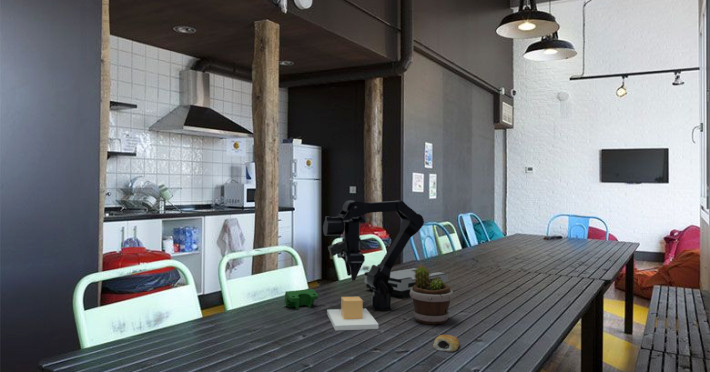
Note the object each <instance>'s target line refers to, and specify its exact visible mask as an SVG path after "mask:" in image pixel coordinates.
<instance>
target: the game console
mask: <svg viewBox="0 0 710 372" xmlns="http://www.w3.org/2000/svg"><path fill="white" fill-rule="evenodd" d="M417 269H418V267H407V268H401V269H394V270H391V274H390V279H389V281H388V283H389V284H390V285H391V286H392V287H393V288H394V289H393V292H392V294H391V297H396V298H400V299H406V298H411V297H410V290H411V289H412V288H413V286H414V285H415V284H416V281H415V279H414V278H415V274H416V273H414V271H415V270H417ZM368 272H369V271H366V272H364V284H366V285H365V286H366V289H369V291H370V290H372V288H371V286H370V285H369V284H368V282H367V276H368V274H367V273H368ZM415 272H416V271H415ZM429 273H430V274H431V275H429V276H430V277H429V278H430V280H429V281H428V282H429V283H431V281H432V280H434V279H435V278H436V279H437V277H438V279H439V278H440V279H441V280H442V281H443V283H445V282H446V283H447V282H449V274H448V273H445V272H439V271H438V272H429ZM413 277H414V278H413ZM434 277H435V278H434ZM373 291H374V290H372V291H371V292H373Z"/></svg>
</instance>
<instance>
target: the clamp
mask: <svg viewBox="0 0 710 372" xmlns="http://www.w3.org/2000/svg"><path fill="white" fill-rule="evenodd" d="M284 293H285V294H284V301H283V302H284V305H285V306H286V307H287V308H294V306H295V309H296V310H299V307H303V305H305V306H307V307H308V308H309V309H310V308H312V305H313V304H314V303H315V300H318V298H319V294H318V292H316V291H315V290H314V288H311V289H310V288H309V289H301V290H300V289H298V290H297V289H296V290H289V291H288V290H287V291H285V292H284Z"/></svg>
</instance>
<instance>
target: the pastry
mask: <svg viewBox="0 0 710 372" xmlns="http://www.w3.org/2000/svg"><path fill="white" fill-rule="evenodd" d="M433 342H434V343H433V344H432V347H433V349H434V350H436V351H442V352H449V353H450V352H456V351H457V350H458V349H459V346H460V340H459V338H458V337H457V336H454V335H451V334H440V335H438V336H437V337H435V339H434V341H433Z"/></svg>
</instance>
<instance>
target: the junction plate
mask: <svg viewBox="0 0 710 372" xmlns="http://www.w3.org/2000/svg"><path fill="white" fill-rule="evenodd" d="M326 310H327V311H326V314H327V317H328V319H329V321H330V323H331V325H332V326H333V329H334V331H335V332H336V331H354V330H355V331H358V330H359V331H360V330H378V329H379V323H378V322H377V320H376V319H375V318H374V317H373V315H372V314H371V312H369V310H368V309H367V308H363V316H362V319H344V318H343V317H342V315H341V308H340V309H339V308H337V309H326Z"/></svg>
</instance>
